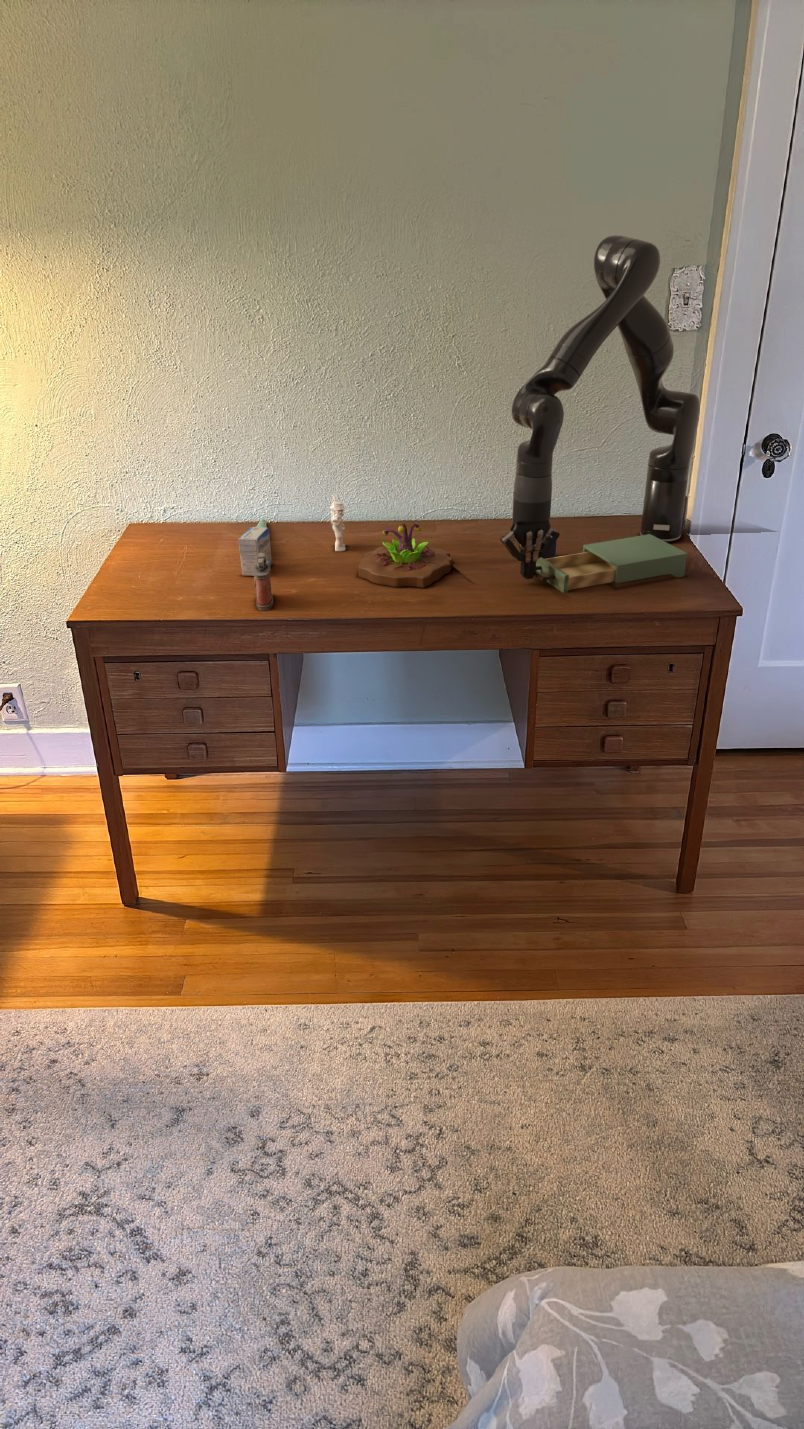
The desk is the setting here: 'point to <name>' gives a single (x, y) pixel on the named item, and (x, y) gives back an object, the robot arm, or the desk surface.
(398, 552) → the plant
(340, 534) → the hat wearing toy figure
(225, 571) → the desk surface
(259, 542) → the medicine box
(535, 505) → the robot arm
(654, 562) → the box
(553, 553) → the tea box
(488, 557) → the desk surface
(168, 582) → the desk surface
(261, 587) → the lighter
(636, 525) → the desk surface
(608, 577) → the tray
